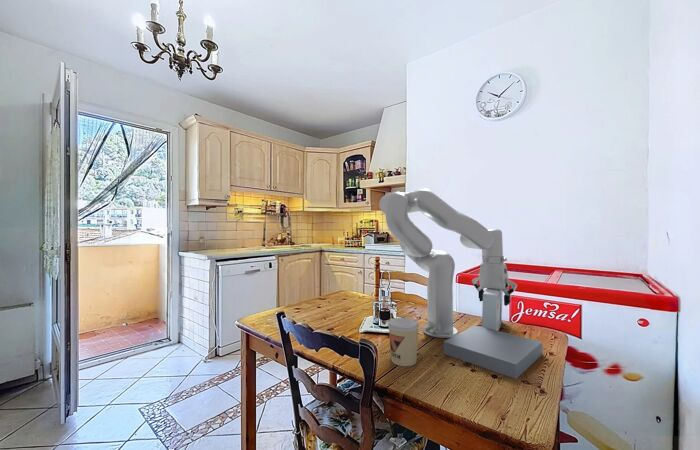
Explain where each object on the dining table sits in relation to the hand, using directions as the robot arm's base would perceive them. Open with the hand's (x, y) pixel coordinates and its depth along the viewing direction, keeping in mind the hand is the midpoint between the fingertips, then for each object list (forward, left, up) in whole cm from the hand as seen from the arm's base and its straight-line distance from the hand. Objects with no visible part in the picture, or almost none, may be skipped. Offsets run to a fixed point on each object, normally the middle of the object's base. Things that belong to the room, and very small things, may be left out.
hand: (494, 302), depth 121 cm
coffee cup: (-49, +7, -10) cm, 50 cm away
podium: (-25, -10, -10) cm, 28 cm away
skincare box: (-1, 0, -11) cm, 10 cm away
